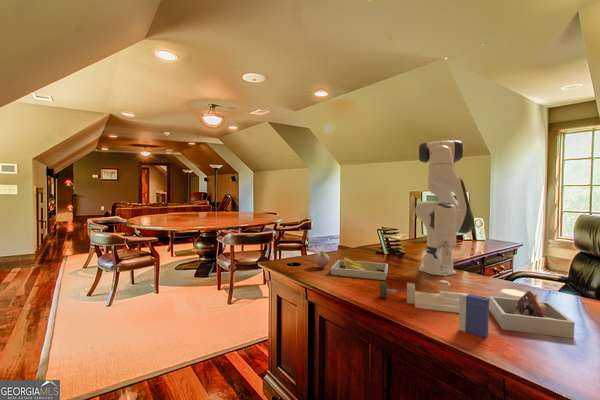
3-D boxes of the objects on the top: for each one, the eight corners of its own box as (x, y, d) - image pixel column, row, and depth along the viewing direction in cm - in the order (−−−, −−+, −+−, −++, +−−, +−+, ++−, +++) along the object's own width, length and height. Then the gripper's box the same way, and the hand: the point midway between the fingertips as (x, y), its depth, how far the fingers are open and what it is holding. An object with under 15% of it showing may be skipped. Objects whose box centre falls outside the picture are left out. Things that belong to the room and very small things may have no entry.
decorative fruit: (312, 266, 182) (312, 249, 181) (325, 265, 184) (325, 248, 184) (317, 270, 173) (318, 252, 172) (331, 269, 175) (331, 252, 175)
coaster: (515, 306, 123) (516, 297, 123) (494, 297, 133) (494, 289, 132) (535, 303, 126) (535, 295, 125) (512, 295, 135) (512, 287, 135)
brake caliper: (498, 309, 112) (519, 283, 112) (522, 327, 113) (542, 301, 113) (522, 323, 101) (545, 294, 101) (547, 343, 101) (570, 314, 101)
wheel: (380, 294, 134) (380, 280, 134) (396, 296, 132) (397, 282, 131) (379, 299, 128) (379, 284, 128) (396, 301, 126) (396, 286, 126)
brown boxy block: (436, 292, 139) (436, 279, 138) (448, 293, 137) (449, 280, 137) (437, 295, 134) (437, 282, 134) (450, 297, 132) (450, 283, 132)
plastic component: (379, 269, 165) (365, 264, 161) (374, 282, 164) (361, 278, 160) (355, 261, 183) (342, 256, 178) (351, 273, 182) (338, 268, 177)
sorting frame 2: (488, 309, 119) (489, 296, 119) (548, 316, 113) (549, 302, 113) (502, 329, 102) (502, 313, 102) (573, 338, 96) (574, 322, 96)
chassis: (406, 295, 134) (407, 280, 134) (466, 301, 127) (467, 286, 126) (406, 306, 121) (407, 290, 121) (473, 314, 113) (474, 297, 113)
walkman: (488, 334, 98) (489, 297, 97) (486, 338, 96) (487, 299, 95) (461, 327, 103) (461, 291, 103) (458, 329, 101) (459, 293, 101)
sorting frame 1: (338, 265, 185) (338, 259, 185) (387, 269, 176) (388, 263, 176) (330, 274, 165) (330, 268, 165) (385, 280, 156) (385, 273, 156)
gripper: (456, 244, 123) (455, 279, 124) (449, 238, 143) (448, 268, 143) (438, 243, 126) (437, 277, 126) (434, 237, 145) (433, 267, 145)
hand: (443, 272), depth 135 cm, fingers open, 8 cm apart
